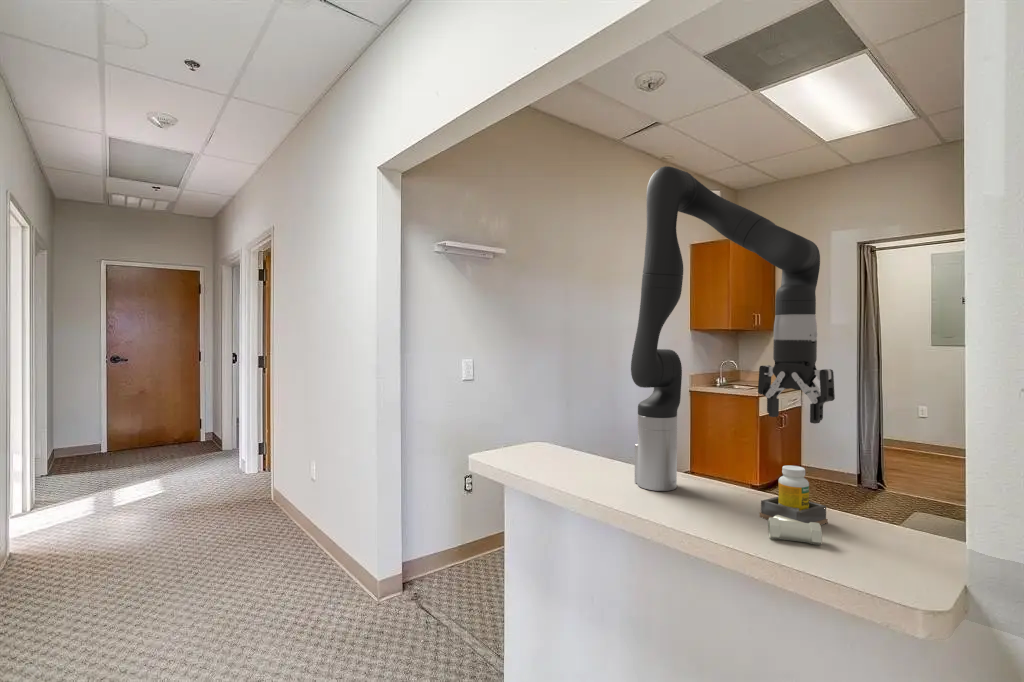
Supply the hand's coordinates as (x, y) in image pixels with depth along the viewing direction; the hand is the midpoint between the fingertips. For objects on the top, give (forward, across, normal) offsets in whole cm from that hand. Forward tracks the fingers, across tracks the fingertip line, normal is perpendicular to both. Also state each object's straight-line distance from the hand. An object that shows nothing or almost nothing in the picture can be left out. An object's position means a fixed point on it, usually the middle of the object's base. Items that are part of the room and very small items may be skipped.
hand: (793, 419), depth 102 cm
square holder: (+20, 0, 0) cm, 20 cm away
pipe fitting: (+20, +6, -9) cm, 23 cm away
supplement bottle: (+19, 0, 0) cm, 19 cm away
